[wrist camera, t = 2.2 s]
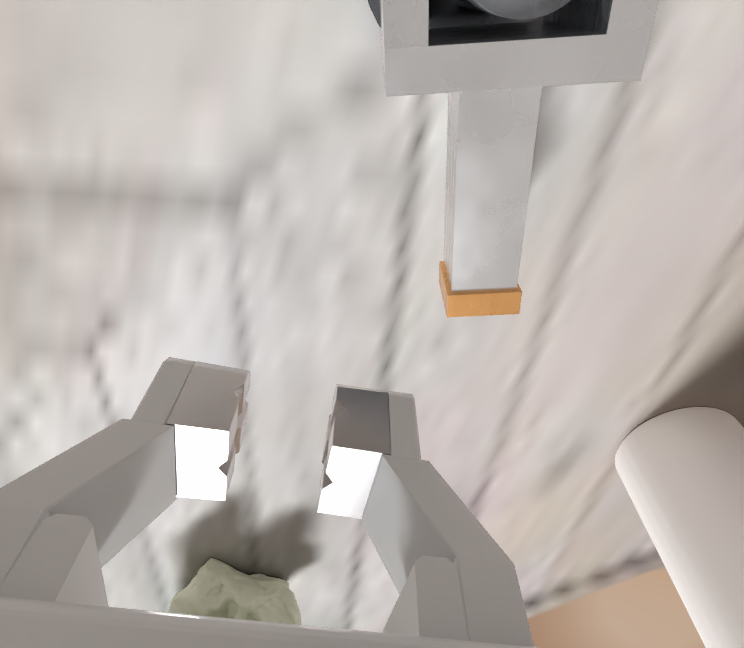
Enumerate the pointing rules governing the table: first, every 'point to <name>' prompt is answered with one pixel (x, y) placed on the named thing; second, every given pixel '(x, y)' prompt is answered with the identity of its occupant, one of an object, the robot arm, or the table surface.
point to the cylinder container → (694, 511)
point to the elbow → (501, 120)
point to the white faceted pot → (482, 11)
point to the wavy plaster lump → (237, 596)
